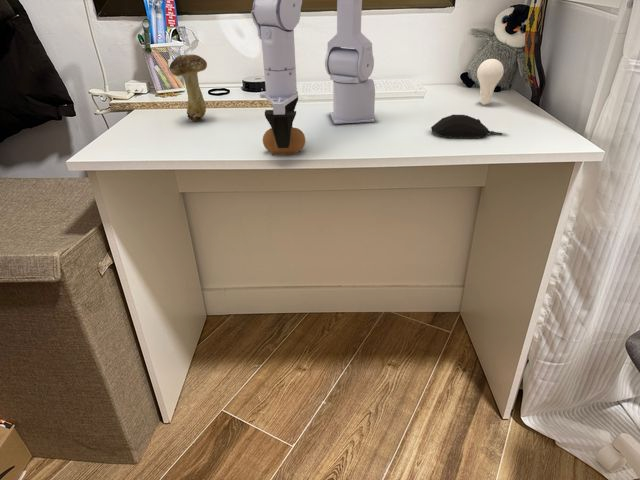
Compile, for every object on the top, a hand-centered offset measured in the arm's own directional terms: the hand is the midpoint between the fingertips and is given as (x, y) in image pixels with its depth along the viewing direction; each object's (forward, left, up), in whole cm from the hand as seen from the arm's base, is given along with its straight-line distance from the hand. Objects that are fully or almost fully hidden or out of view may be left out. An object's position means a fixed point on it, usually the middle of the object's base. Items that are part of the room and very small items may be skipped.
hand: (284, 140), depth 86 cm
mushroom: (+20, -24, -3) cm, 31 cm away
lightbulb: (-52, -24, -3) cm, 57 cm away
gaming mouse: (-39, -4, -3) cm, 39 cm away
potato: (0, 0, -2) cm, 2 cm away
